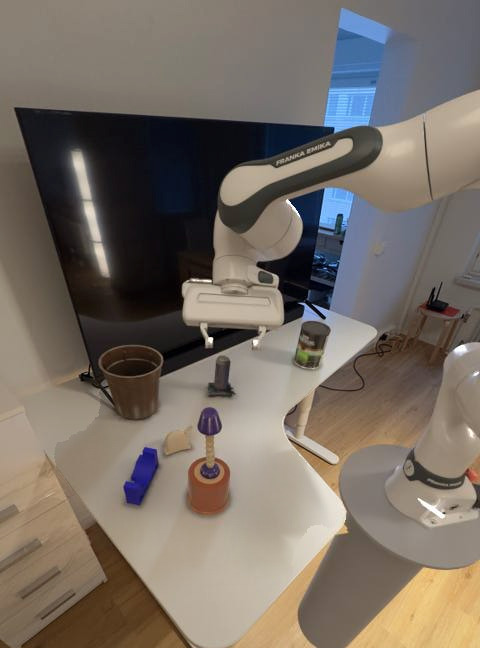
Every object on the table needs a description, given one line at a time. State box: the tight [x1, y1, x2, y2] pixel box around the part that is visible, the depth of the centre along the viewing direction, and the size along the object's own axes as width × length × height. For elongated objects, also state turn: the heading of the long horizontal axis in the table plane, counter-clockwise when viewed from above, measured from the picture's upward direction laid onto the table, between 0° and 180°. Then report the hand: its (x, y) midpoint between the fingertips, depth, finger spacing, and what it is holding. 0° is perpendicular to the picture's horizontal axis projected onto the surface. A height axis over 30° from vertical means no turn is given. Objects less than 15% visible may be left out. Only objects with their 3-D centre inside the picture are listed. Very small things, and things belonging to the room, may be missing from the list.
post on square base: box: [206, 355, 236, 398], centre depth 106 cm, size 9×8×12 cm
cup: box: [186, 456, 231, 516], centre depth 76 cm, size 10×10×9 cm
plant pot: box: [98, 344, 164, 421], centre depth 95 cm, size 16×16×16 cm
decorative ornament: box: [163, 425, 194, 456], centre depth 89 cm, size 4×8×5 cm, turn 115°
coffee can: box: [293, 320, 332, 371], centre depth 123 cm, size 10×10×14 cm
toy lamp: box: [196, 406, 223, 479], centre depth 68 cm, size 5×5×17 cm
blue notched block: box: [122, 446, 160, 507], centre depth 79 cm, size 12×4×6 cm, turn 170°
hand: (232, 348), depth 69 cm, fingers open, 8 cm apart
